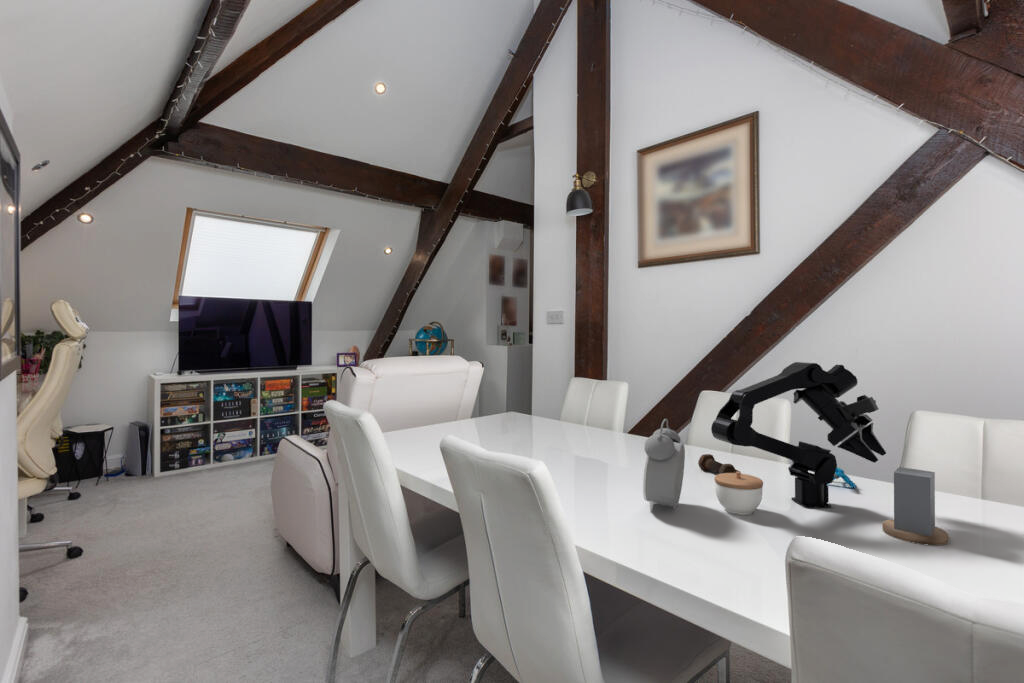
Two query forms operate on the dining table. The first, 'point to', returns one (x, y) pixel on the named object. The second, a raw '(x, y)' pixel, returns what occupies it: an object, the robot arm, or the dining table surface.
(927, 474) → the block
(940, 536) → the stub base
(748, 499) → the lidded jar
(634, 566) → the dining table surface
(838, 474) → the blue thin-armed part
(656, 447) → the alarm clock
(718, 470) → the bolt
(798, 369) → the robot arm
